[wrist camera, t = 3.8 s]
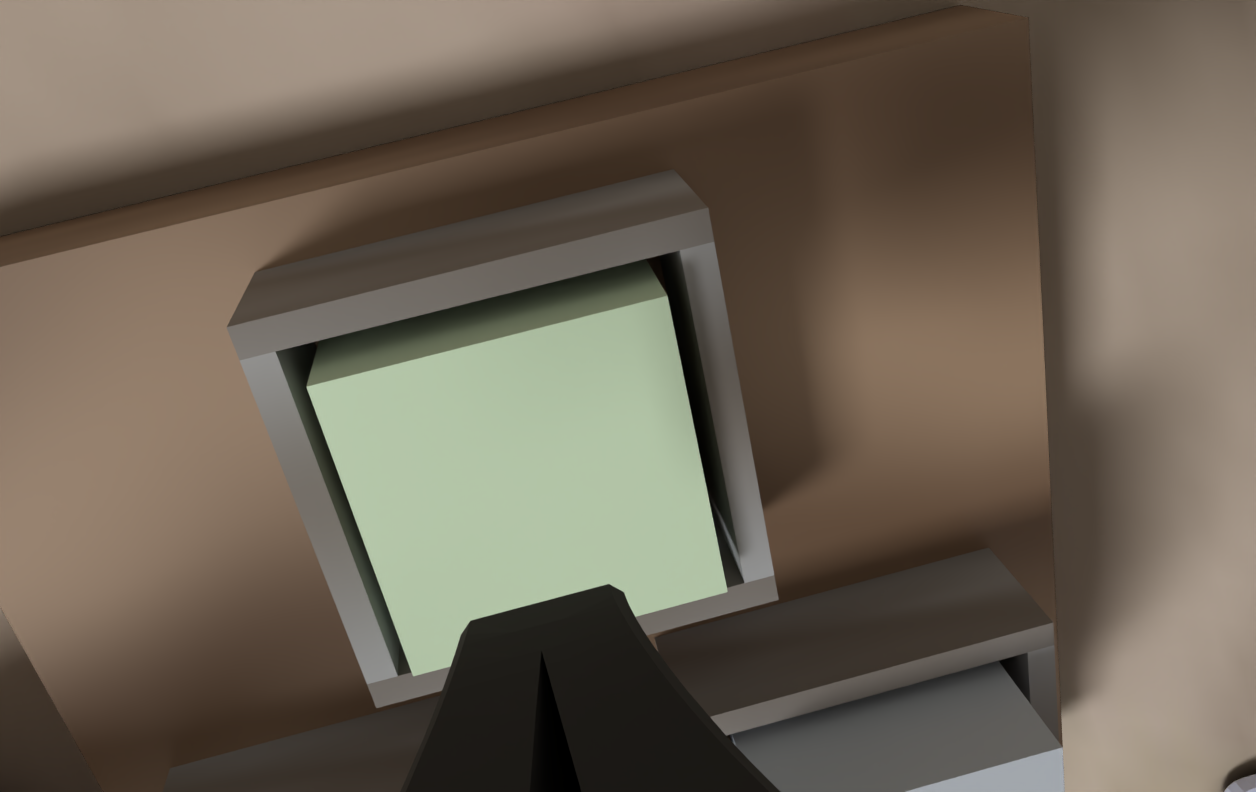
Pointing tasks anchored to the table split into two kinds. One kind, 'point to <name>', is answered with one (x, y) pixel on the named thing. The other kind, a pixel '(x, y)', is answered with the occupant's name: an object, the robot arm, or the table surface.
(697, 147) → the console
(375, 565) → the green button
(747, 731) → the grey button
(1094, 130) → the table surface
